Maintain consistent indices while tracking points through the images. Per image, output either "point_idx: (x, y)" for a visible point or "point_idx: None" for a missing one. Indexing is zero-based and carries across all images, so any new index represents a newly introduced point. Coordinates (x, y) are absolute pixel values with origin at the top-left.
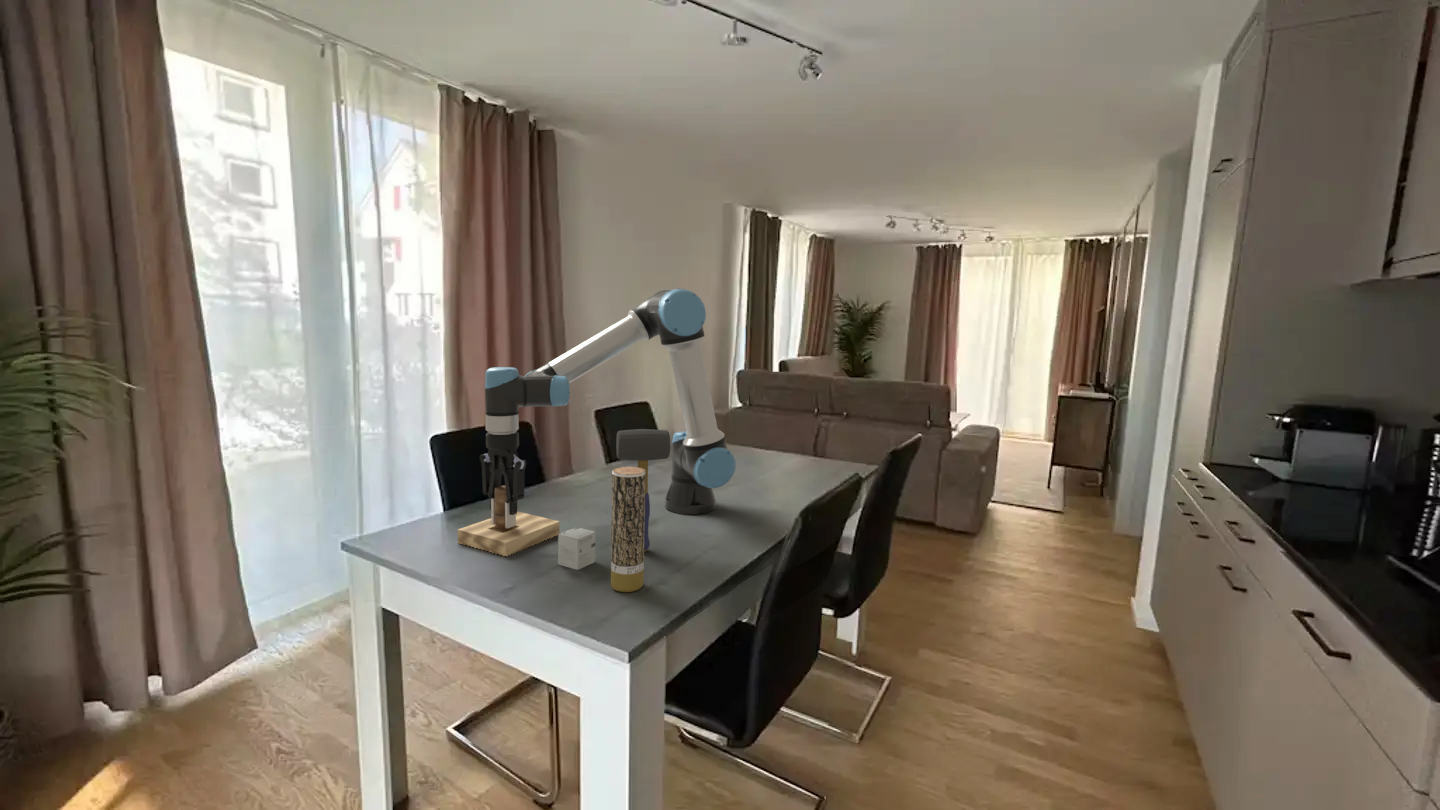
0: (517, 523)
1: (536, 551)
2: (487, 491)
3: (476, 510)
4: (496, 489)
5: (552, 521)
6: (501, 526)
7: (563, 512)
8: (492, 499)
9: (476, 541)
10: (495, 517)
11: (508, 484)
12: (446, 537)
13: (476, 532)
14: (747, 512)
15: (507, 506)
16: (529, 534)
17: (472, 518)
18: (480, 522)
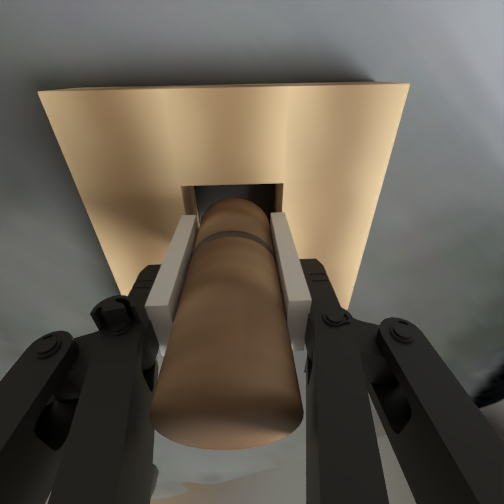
0: None
1: (67, 200)
2: (379, 345)
3: (489, 318)
4: (229, 380)
5: None
6: (211, 210)
7: None
8: (296, 299)
9: (260, 85)
10: (247, 225)
11: (56, 493)
12: (467, 106)
13: (286, 112)
14: None
15: (153, 286)
16: (102, 238)
17: (468, 278)
18: (365, 218)
